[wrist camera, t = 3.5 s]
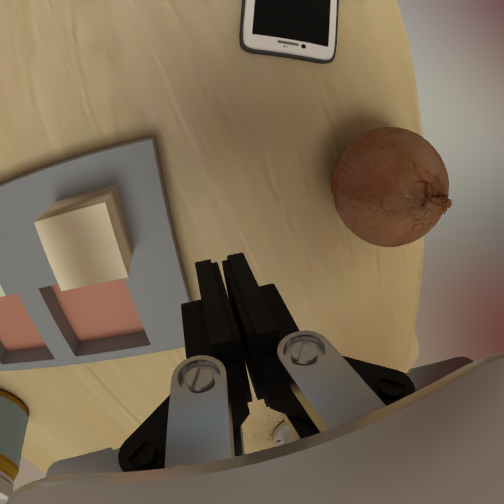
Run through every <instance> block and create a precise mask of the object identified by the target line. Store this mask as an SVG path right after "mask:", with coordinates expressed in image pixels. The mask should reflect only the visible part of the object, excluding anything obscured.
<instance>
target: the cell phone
mask: <svg viewBox="0 0 504 504" xmlns="http://www.w3.org/2000/svg"><path fill="white" fill-rule="evenodd" d="M338 6H339V0H242V11H241V23H240V46H241V48H242V49H243V50H244V51H246V52H249V53H254V54H262V55H271V56H278V57H285V58H292V59H298V60H304V61H310V62H315V63H323V64H325V63H330V62H332V61H333V60H334V58H335V52H336V45H337V29H338ZM336 11H337V19H336ZM335 31H336V37H335Z"/></svg>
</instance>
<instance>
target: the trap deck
mask: <svg viewBox="0 0 504 504" xmlns="http://www.w3.org/2000/svg"><path fill="white" fill-rule="evenodd" d="M113 185H117V187H118V191H119V195H120V199H121V203H122V207H123V210H124V214H125V218H126V222H127V225H128V229H129V232H130V236H131V239H132V243H133V246H134V253H133V257H132V262H131V267H130V272H129V277H127V278H122V279H117V280H113V281H108V282H103V283H98V284H94V285H89V286H84V287H79V288H75V289H70V290H65V291H61V289H60V286H59V284H58V282H57V280H56V277H55V275H54V273H53V270H52V268H51V266H50V263H49V261H48V258H47V256H46V253H45V251H44V248H43V246H42V243H41V240H40V237H39V235H38V232H37V229H36V226H35V223H34V222H35V221H36V220H37V219H38V218H39V217H40V216H41V215H42V214H43V213H44V212H45V211H46V210H47V209H48V208H49V207H50V206H51V205H52V204H53V203H54V202H56V201H59V200H63V199H66V198H69V197H73V196H76V195H80V194H83V193H87V192H90V191H94V190H98V189H102V188H105V187H109V186H113ZM187 302H191V298H190V294H189V291H188V287H187V283H186V279H185V275H184V271H183V267H182V263H181V259H180V255H179V251H178V247H177V243H176V239H175V234H174V230H173V226H172V221H171V217H170V212H169V207H168V203H167V198H166V193H165V188H164V184H163V179H162V173H161V168H160V163H159V158H158V152H157V147H156V141H155V136H151V137H146V138H142V139H138V140H133V141H129V142H125V143H121V144H118V145H114V146H110V147H106V148H103V149H99V150H96V151H92V152H89V153H85V154H82V155H79V156H75V157H72V158H69V159H66V160H63V161H60V162H57V163H54V164H51V165H48V166H45V167H42V168H40V169H37V170H34V171H31V172H29V173H26V174H24V175H21V176H18V177H16V178H13V179H11V180H8V181H6V182H4V183H1V184H0V371H9V370H23V369H35V368H46V367H55V366H65V365H73V364H81V363H89V362H97V361H104V360H111V359H117V358H124V357H130V356H136V355H142V354H148V353H154V352H160V351H165V350H170V349H176V348H181V347H185V341H184V332H183V323H182V313H181V304H182V303H187Z"/></svg>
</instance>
